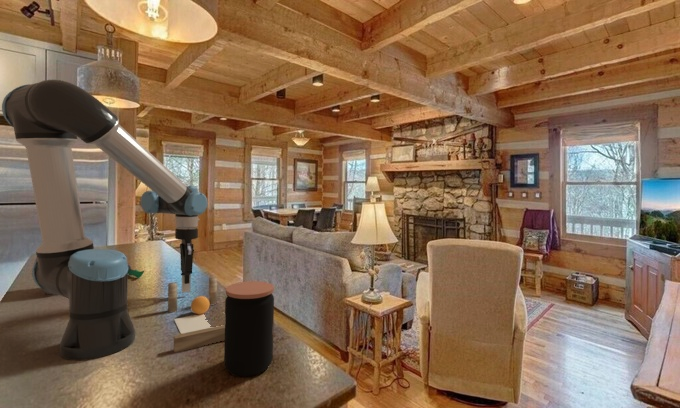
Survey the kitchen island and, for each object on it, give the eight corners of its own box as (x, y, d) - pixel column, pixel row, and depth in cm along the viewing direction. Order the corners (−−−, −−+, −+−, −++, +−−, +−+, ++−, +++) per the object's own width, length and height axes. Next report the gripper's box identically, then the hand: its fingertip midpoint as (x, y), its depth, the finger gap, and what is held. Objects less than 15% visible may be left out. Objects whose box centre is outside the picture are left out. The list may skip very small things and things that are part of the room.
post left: (177, 311, 105) (177, 283, 104) (168, 313, 103) (168, 285, 103) (176, 308, 107) (176, 282, 107) (167, 310, 105) (167, 283, 105)
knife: (118, 273, 148) (118, 263, 148) (122, 273, 150) (123, 262, 150) (143, 280, 139) (143, 269, 138) (147, 279, 140) (148, 268, 140)
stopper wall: (254, 333, 90) (254, 321, 90) (174, 352, 79) (175, 338, 78) (252, 331, 92) (252, 318, 92) (173, 349, 80) (173, 335, 80)
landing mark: (234, 325, 95) (234, 325, 95) (182, 337, 87) (182, 336, 87) (221, 310, 106) (221, 310, 106) (174, 319, 98) (174, 319, 98)
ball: (206, 310, 107) (211, 314, 103) (188, 313, 104) (192, 317, 99) (207, 294, 108) (211, 296, 103) (189, 296, 104) (193, 298, 100)
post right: (217, 304, 112) (218, 278, 112) (209, 305, 111) (210, 279, 110) (215, 302, 114) (216, 277, 114) (208, 303, 113) (208, 278, 112)
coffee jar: (282, 365, 74) (283, 287, 74) (240, 385, 66) (241, 298, 66) (255, 349, 81) (256, 278, 81) (215, 365, 73) (216, 286, 73)
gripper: (201, 229, 115) (200, 294, 116) (194, 225, 126) (193, 285, 127) (178, 230, 111) (177, 298, 112) (172, 226, 122) (172, 288, 122)
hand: (186, 291), depth 119 cm, fingers closed
